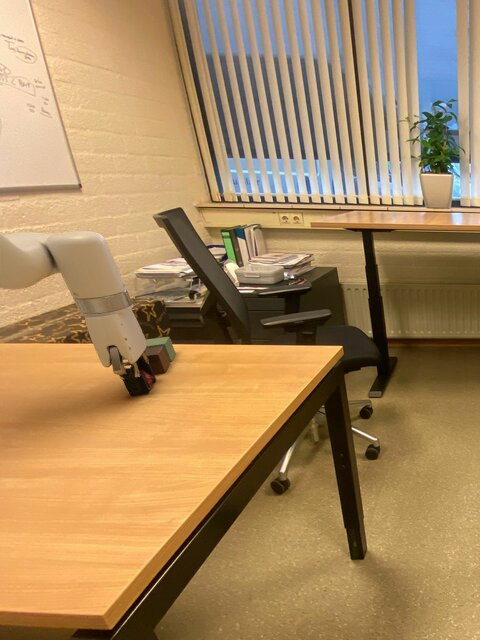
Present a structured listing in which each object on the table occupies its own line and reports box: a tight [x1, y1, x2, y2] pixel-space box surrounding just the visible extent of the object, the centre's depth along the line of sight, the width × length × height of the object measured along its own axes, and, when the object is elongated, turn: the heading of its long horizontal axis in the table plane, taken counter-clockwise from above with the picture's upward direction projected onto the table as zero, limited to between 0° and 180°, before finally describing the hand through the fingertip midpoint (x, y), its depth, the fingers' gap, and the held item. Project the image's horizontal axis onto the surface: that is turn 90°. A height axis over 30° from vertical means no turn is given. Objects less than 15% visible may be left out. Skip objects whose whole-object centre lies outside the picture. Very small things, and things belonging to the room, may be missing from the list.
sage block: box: [145, 336, 177, 363], centre depth 96 cm, size 4×4×4 cm
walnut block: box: [145, 346, 171, 375], centre depth 91 cm, size 4×4×4 cm
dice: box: [139, 370, 154, 389], centre depth 84 cm, size 4×4×4 cm
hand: (143, 387), depth 85 cm, fingers closed on dice, 4 cm apart
